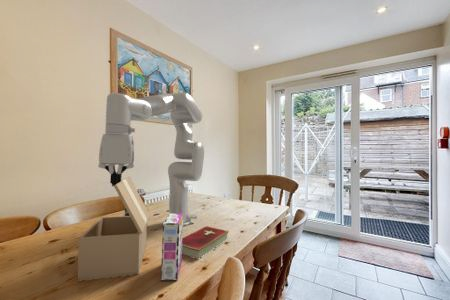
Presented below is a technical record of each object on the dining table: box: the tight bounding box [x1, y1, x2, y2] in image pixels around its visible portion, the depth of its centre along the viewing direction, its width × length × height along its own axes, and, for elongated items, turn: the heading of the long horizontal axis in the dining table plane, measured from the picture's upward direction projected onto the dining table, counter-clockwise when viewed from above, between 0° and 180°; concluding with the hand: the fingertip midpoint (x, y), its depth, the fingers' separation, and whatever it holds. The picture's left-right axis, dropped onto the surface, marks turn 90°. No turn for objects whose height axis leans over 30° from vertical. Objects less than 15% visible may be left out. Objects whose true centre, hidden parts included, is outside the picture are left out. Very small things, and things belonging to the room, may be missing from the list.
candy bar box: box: [160, 213, 184, 281], centre depth 67 cm, size 11×5×16 cm, turn 5°
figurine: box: [123, 188, 147, 216], centre depth 120 cm, size 9×12×15 cm
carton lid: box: [113, 176, 150, 234], centre depth 73 cm, size 16×20×1 cm
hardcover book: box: [182, 225, 230, 260], centre depth 85 cm, size 12×21×4 cm, turn 150°
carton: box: [77, 215, 148, 282], centre depth 72 cm, size 16×20×12 cm
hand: (115, 185), depth 72 cm, fingers closed
